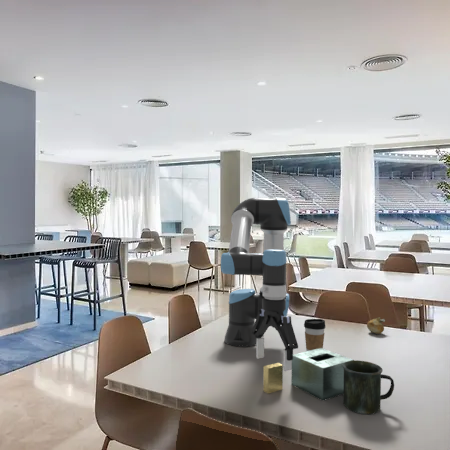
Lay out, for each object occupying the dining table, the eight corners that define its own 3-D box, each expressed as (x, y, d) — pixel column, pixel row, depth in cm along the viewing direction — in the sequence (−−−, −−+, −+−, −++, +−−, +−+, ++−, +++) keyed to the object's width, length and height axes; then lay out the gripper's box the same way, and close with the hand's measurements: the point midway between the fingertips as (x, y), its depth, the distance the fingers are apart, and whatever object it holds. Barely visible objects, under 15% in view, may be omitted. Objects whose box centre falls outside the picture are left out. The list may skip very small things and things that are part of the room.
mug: (339, 397, 125) (340, 359, 125) (389, 401, 122) (390, 362, 122) (343, 413, 114) (344, 372, 114) (398, 419, 111) (398, 376, 111)
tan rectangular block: (263, 391, 129) (263, 366, 129) (277, 386, 132) (277, 362, 132) (268, 393, 127) (268, 368, 127) (282, 389, 130) (282, 365, 130)
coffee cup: (325, 361, 156) (326, 323, 155) (303, 360, 157) (303, 322, 157) (324, 354, 164) (325, 318, 164) (303, 353, 166) (304, 317, 165)
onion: (369, 330, 201) (369, 314, 201) (385, 333, 197) (386, 316, 197) (364, 333, 195) (365, 317, 195) (381, 336, 191) (382, 319, 190)
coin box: (291, 384, 134) (291, 354, 134) (321, 376, 141) (321, 347, 141) (322, 400, 122) (323, 368, 122) (353, 390, 130) (353, 359, 130)
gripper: (241, 292, 137) (241, 354, 137) (291, 305, 116) (291, 378, 116) (259, 291, 141) (258, 351, 141) (310, 302, 121) (309, 373, 121)
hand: (273, 363), depth 129 cm, fingers open, 13 cm apart
